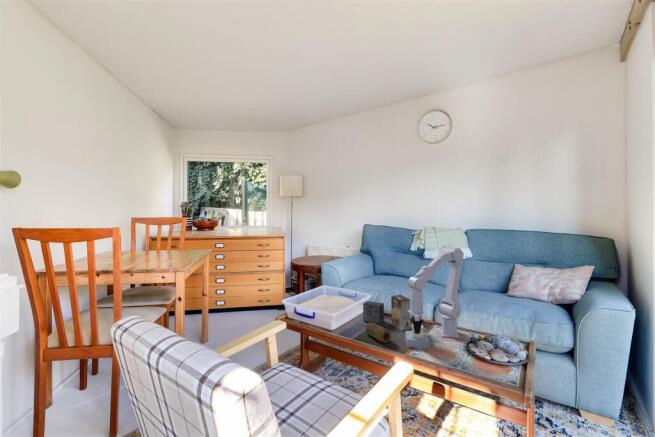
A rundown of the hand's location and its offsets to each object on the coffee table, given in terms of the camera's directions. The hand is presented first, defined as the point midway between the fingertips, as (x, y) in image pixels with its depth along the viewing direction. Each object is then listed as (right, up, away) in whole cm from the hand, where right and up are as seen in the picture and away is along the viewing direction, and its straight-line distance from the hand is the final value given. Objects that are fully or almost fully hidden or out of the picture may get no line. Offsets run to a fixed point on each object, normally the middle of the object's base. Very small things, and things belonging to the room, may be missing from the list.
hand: (417, 330), depth 145 cm
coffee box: (-3, -6, +20) cm, 21 cm away
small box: (-16, -6, +28) cm, 33 cm away
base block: (0, -7, 0) cm, 7 cm away
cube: (0, -3, 0) cm, 3 cm away
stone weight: (-17, -7, +7) cm, 20 cm away
